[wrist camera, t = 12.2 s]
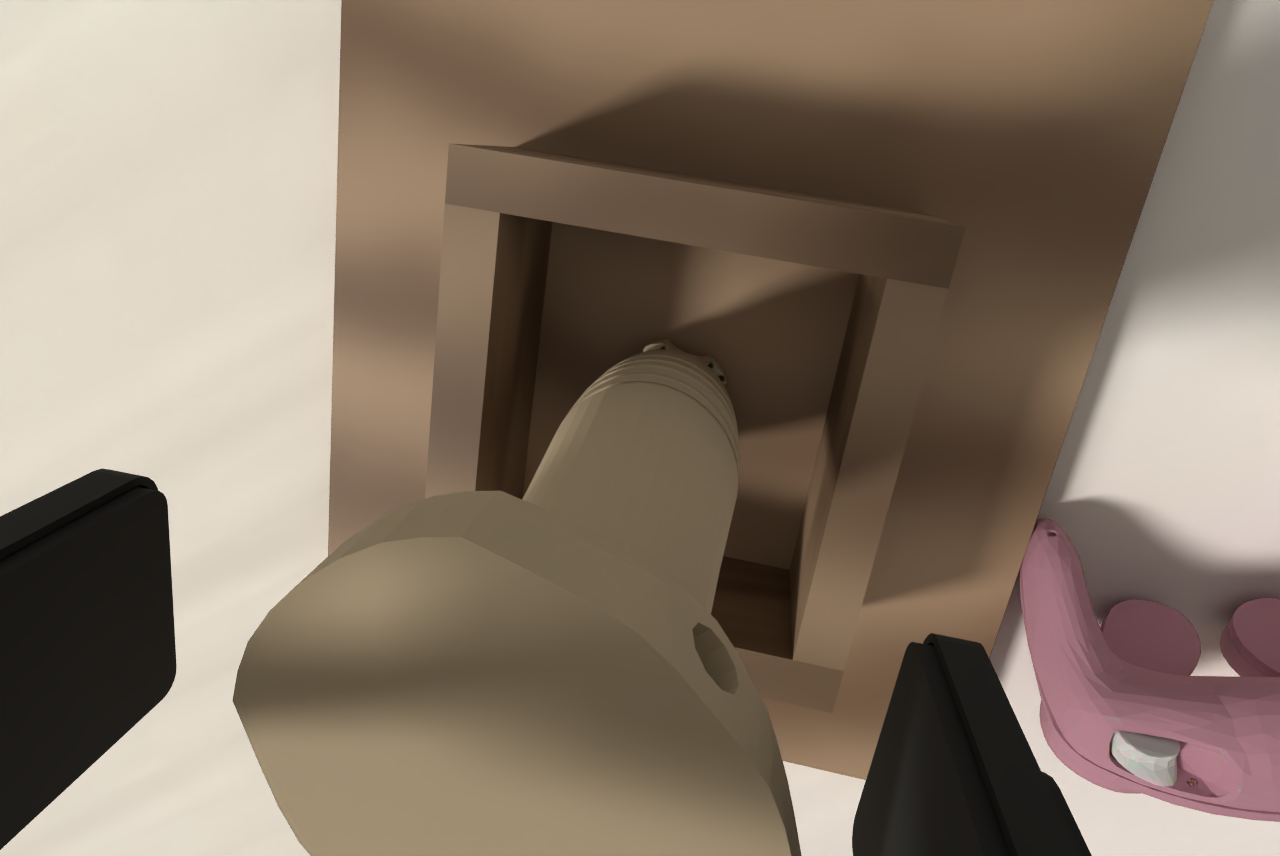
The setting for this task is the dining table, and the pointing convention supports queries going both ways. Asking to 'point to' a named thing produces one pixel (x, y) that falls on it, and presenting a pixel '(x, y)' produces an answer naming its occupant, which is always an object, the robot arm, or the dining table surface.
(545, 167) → the holder
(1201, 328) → the dining table surface
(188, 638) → the dining table surface
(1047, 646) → the video game controller
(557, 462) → the handle
